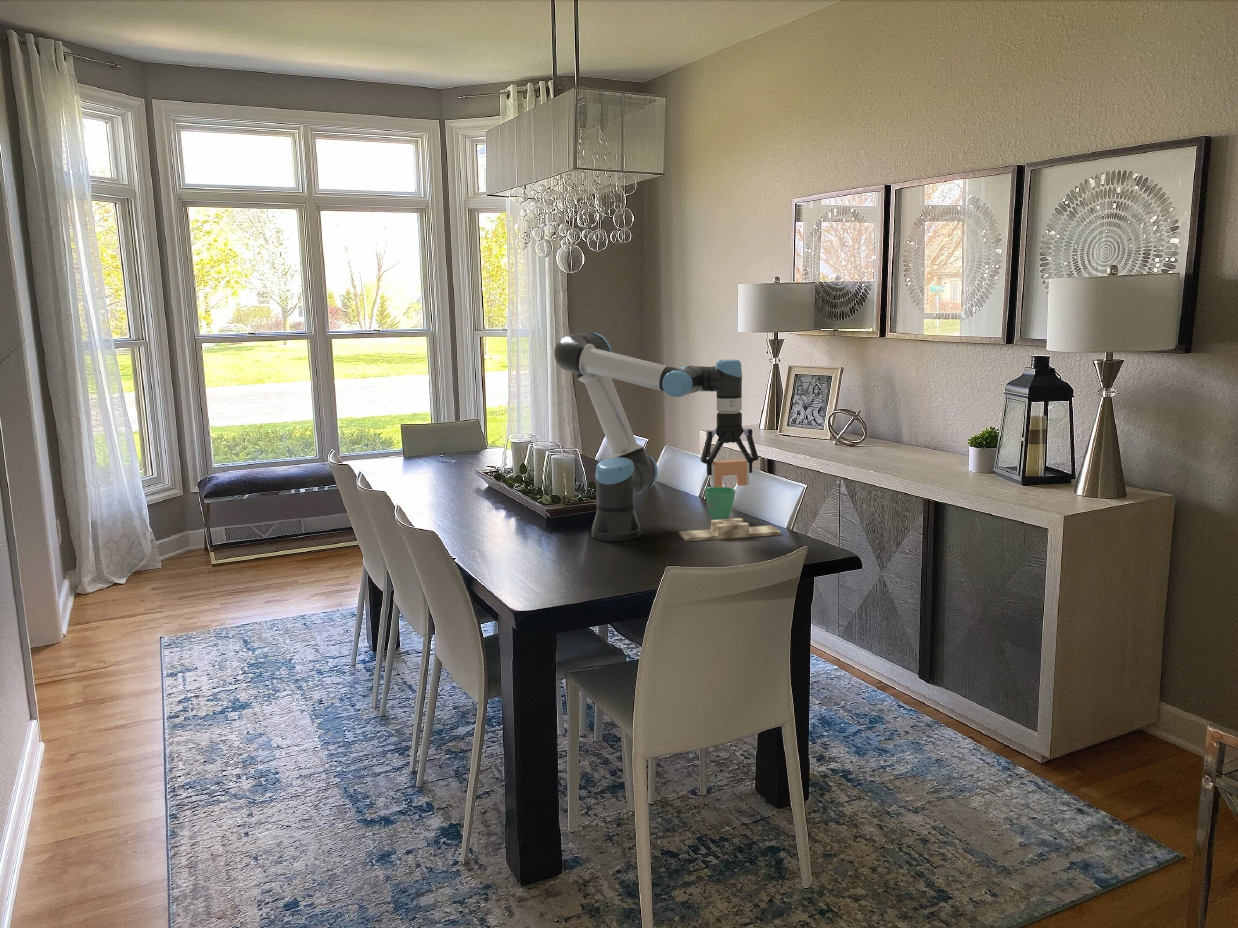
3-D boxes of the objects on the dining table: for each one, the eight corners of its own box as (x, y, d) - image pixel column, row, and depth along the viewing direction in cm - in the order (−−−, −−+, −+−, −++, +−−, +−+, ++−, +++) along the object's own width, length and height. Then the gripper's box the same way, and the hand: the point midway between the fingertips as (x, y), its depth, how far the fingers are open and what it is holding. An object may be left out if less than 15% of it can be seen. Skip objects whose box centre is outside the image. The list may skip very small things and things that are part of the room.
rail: (685, 541, 277) (685, 528, 276) (679, 534, 285) (678, 522, 284) (780, 534, 282) (780, 522, 282) (771, 528, 290) (772, 516, 289)
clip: (714, 487, 278) (714, 462, 276) (712, 485, 280) (712, 461, 279) (746, 485, 279) (746, 461, 278) (744, 483, 282) (744, 459, 281)
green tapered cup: (740, 521, 299) (740, 491, 297) (713, 524, 296) (713, 494, 294) (720, 512, 313) (719, 483, 311) (693, 515, 309) (693, 485, 307)
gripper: (695, 415, 270) (696, 489, 274) (769, 411, 274) (769, 484, 278) (689, 411, 278) (690, 484, 282) (761, 408, 281) (761, 480, 285)
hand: (729, 484), depth 280 cm, fingers closed on clip, 10 cm apart
